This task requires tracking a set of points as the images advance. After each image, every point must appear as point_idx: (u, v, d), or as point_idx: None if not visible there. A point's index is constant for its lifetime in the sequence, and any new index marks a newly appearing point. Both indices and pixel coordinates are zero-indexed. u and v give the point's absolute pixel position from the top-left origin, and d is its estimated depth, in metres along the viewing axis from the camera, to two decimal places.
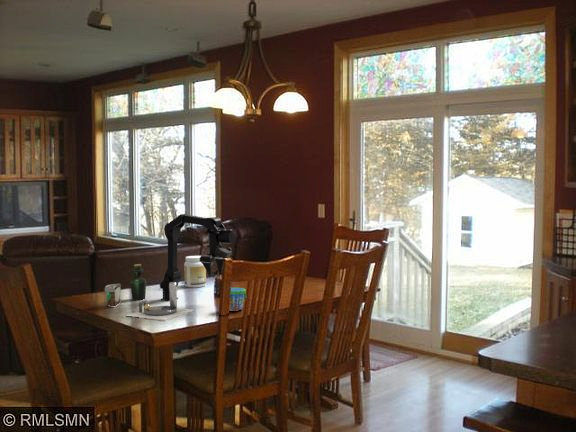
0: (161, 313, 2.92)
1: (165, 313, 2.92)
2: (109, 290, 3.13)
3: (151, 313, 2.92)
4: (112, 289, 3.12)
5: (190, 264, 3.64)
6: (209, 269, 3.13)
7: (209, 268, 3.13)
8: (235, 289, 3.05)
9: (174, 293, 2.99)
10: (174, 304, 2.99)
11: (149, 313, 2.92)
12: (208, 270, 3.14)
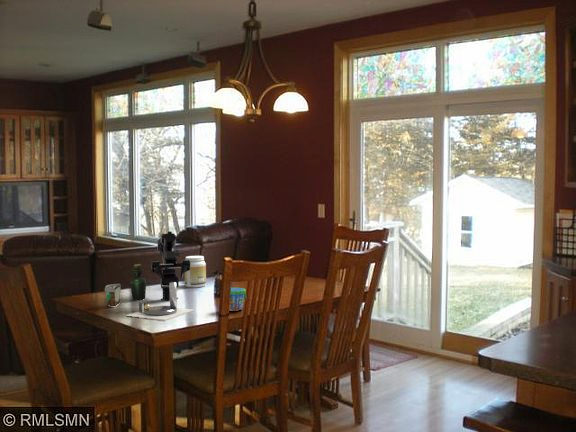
0: (161, 313, 2.92)
1: (165, 313, 2.92)
2: (109, 290, 3.13)
3: (151, 313, 2.92)
4: (112, 289, 3.12)
5: (190, 264, 3.64)
6: (160, 274, 3.11)
7: (159, 273, 3.11)
8: (235, 289, 3.05)
9: (174, 293, 2.99)
10: (174, 304, 2.99)
11: (149, 313, 2.92)
12: (160, 276, 3.11)
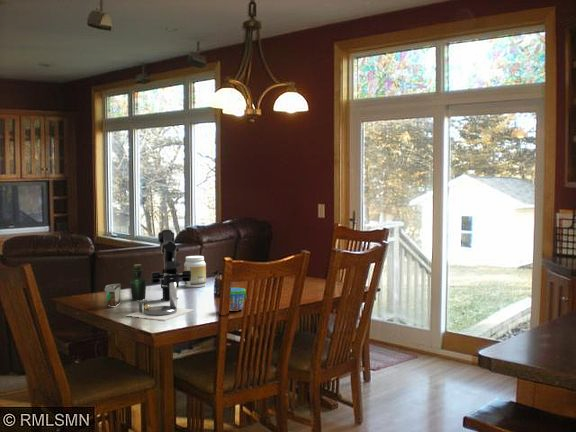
0: (161, 313, 2.92)
1: (165, 313, 2.92)
2: (109, 290, 3.13)
3: (151, 313, 2.92)
4: (112, 289, 3.12)
5: (190, 264, 3.64)
6: None
7: (168, 284, 3.07)
8: (235, 289, 3.05)
9: (174, 293, 2.99)
10: (174, 304, 2.99)
11: (149, 313, 2.92)
12: None
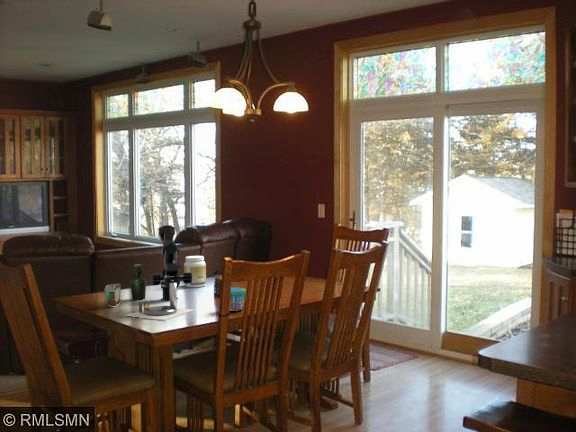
0: (159, 313, 2.92)
1: (163, 313, 2.92)
2: (109, 290, 3.13)
3: (150, 313, 2.92)
4: (112, 289, 3.12)
5: (190, 264, 3.64)
6: None
7: None
8: (235, 289, 3.05)
9: (174, 293, 2.98)
10: (174, 304, 2.98)
11: (148, 313, 2.93)
12: None
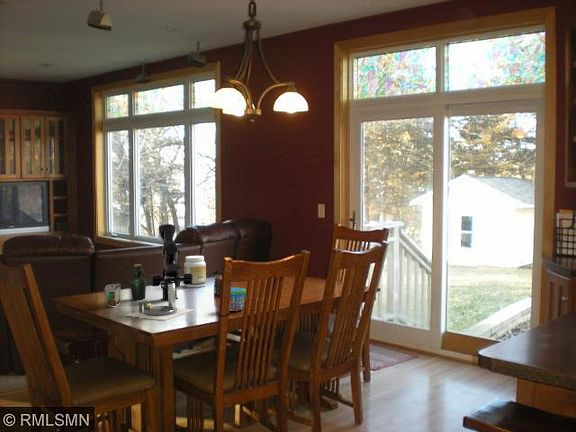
0: (152, 313, 2.92)
1: (156, 314, 2.92)
2: (109, 290, 3.13)
3: (145, 312, 2.94)
4: (112, 289, 3.12)
5: (190, 264, 3.64)
6: None
7: None
8: (235, 289, 3.05)
9: (171, 294, 2.95)
10: (171, 306, 2.96)
11: (144, 312, 2.95)
12: None
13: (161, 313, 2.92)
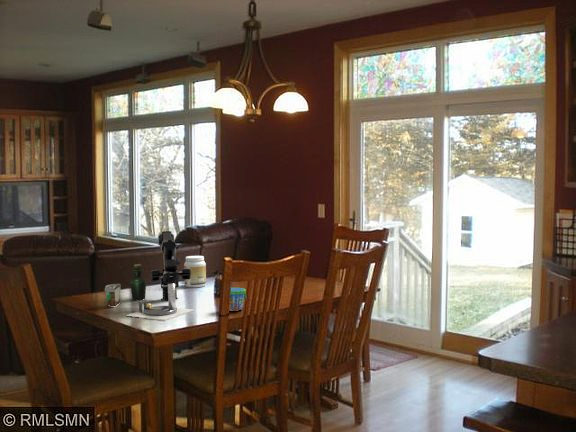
0: (152, 313, 2.92)
1: (156, 314, 2.92)
2: (109, 290, 3.13)
3: (145, 312, 2.94)
4: (112, 289, 3.12)
5: (190, 264, 3.64)
6: (168, 283, 3.09)
7: (168, 282, 3.09)
8: (235, 289, 3.05)
9: (171, 294, 2.95)
10: (171, 306, 2.96)
11: (144, 312, 2.95)
12: None
13: (161, 313, 2.92)
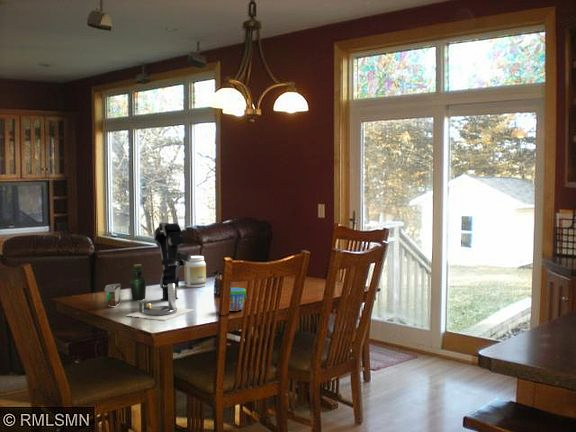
0: (152, 313, 2.92)
1: (156, 314, 2.92)
2: (109, 290, 3.13)
3: (145, 312, 2.94)
4: (112, 289, 3.12)
5: (190, 264, 3.64)
6: (174, 273, 3.17)
7: (174, 272, 3.16)
8: (235, 289, 3.05)
9: (171, 294, 2.95)
10: (171, 306, 2.96)
11: (144, 312, 2.95)
12: (173, 274, 3.17)
13: (161, 313, 2.92)
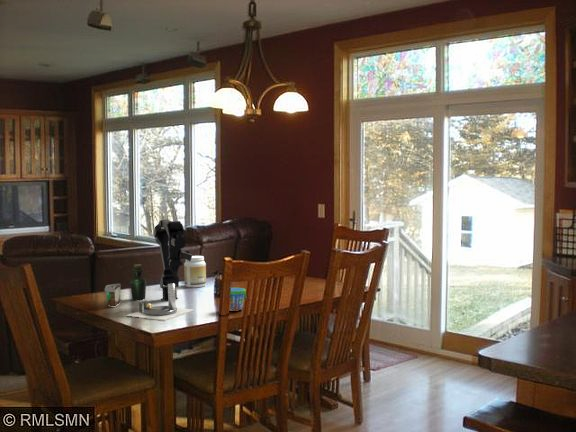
0: (152, 313, 2.92)
1: (156, 314, 2.92)
2: (109, 290, 3.13)
3: (145, 312, 2.94)
4: (112, 289, 3.12)
5: (190, 264, 3.64)
6: (176, 271, 3.19)
7: (176, 270, 3.18)
8: (235, 289, 3.05)
9: (171, 294, 2.95)
10: (171, 306, 2.96)
11: (144, 312, 2.95)
12: (175, 272, 3.19)
13: (161, 313, 2.92)
